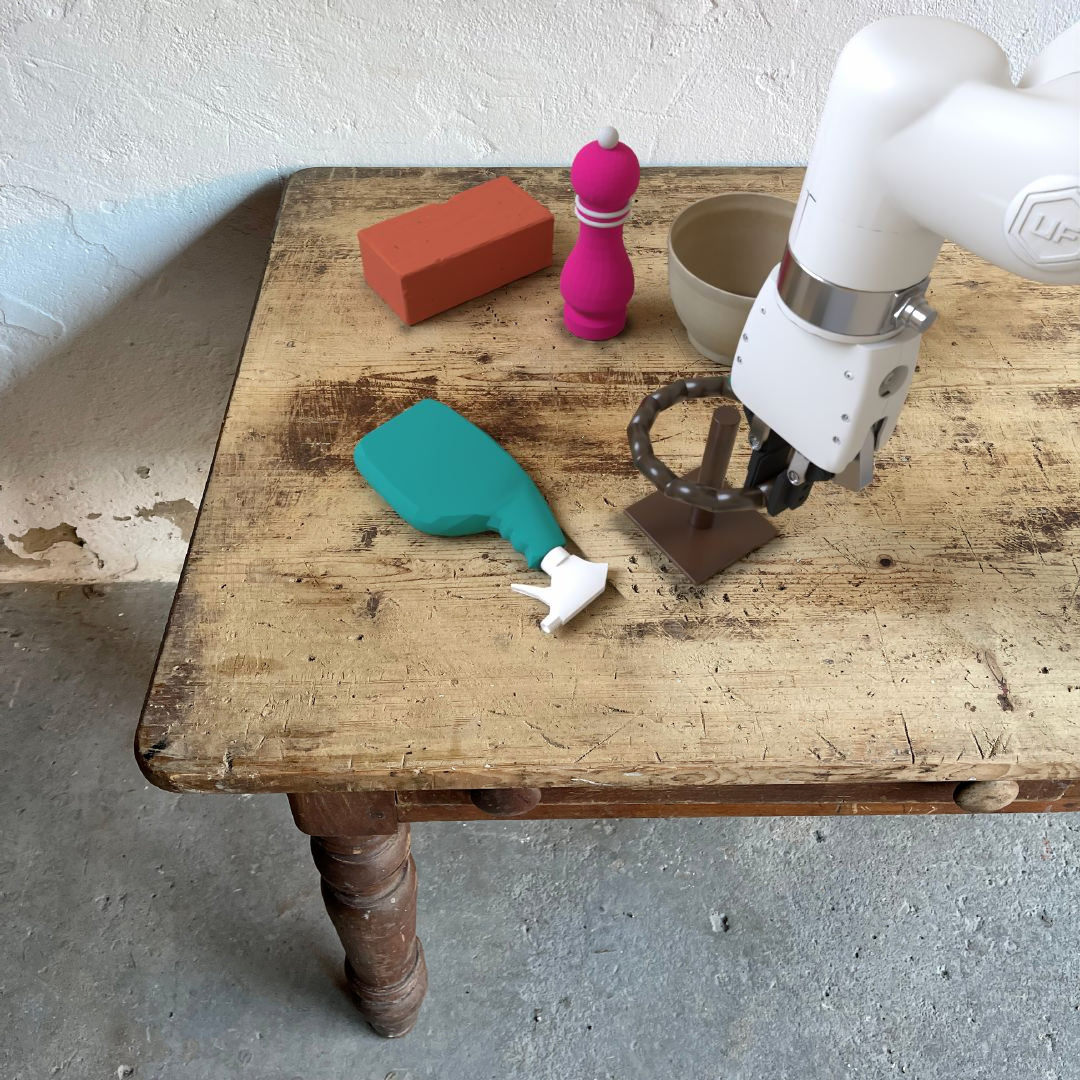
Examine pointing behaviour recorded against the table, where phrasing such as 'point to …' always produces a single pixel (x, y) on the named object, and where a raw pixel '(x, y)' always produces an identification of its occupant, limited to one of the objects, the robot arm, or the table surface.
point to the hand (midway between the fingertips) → (773, 493)
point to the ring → (669, 480)
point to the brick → (456, 249)
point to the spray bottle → (474, 498)
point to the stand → (703, 513)
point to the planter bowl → (724, 264)
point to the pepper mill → (600, 239)
